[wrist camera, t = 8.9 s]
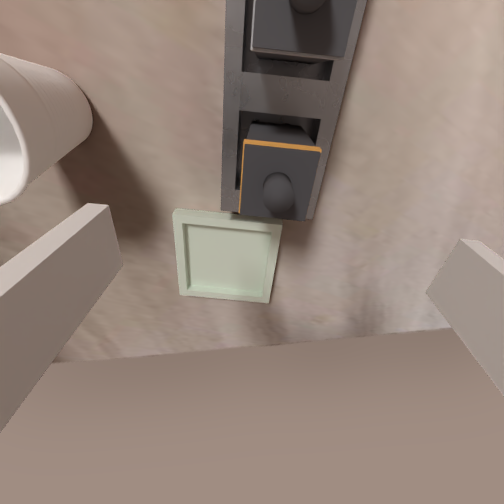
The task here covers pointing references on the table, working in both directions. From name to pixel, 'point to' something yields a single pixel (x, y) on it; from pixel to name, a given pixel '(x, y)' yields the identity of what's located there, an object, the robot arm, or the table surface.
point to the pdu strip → (276, 97)
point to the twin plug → (301, 29)
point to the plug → (277, 171)
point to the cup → (36, 122)
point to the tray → (226, 254)
